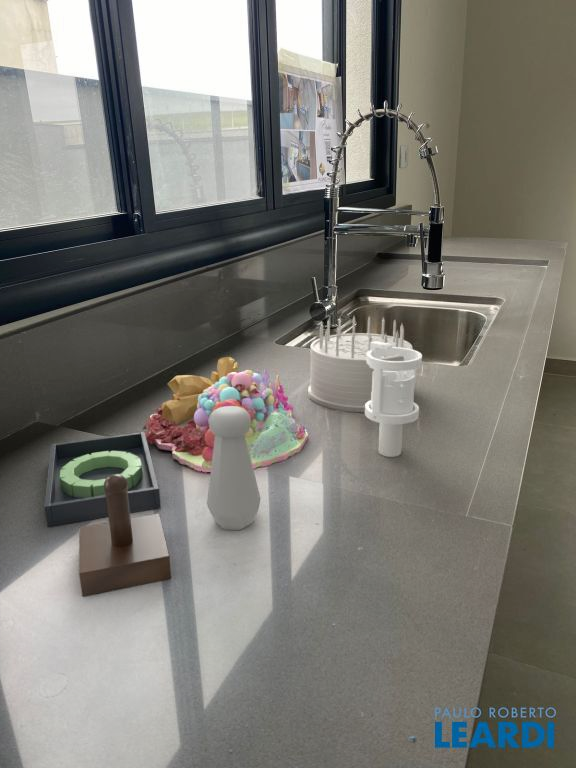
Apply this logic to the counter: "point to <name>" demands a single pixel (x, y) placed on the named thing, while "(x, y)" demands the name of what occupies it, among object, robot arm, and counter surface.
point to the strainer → (392, 394)
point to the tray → (77, 509)
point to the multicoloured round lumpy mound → (226, 388)
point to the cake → (347, 366)
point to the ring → (94, 461)
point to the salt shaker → (232, 470)
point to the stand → (121, 546)
